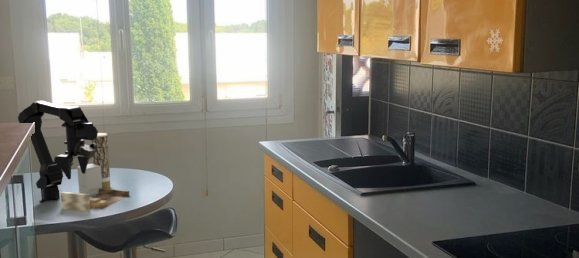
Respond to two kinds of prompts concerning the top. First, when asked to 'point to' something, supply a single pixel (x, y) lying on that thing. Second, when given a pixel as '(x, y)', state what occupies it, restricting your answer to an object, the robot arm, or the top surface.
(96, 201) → the offcut stack
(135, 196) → the top surface
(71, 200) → the birch panel
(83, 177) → the supplement box
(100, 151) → the log
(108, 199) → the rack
